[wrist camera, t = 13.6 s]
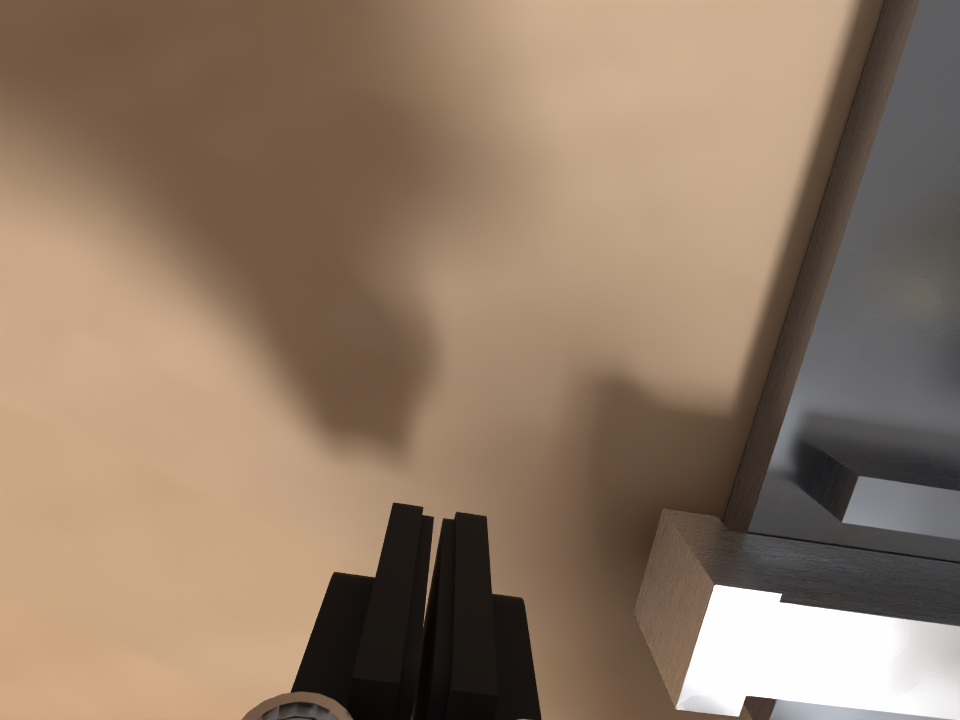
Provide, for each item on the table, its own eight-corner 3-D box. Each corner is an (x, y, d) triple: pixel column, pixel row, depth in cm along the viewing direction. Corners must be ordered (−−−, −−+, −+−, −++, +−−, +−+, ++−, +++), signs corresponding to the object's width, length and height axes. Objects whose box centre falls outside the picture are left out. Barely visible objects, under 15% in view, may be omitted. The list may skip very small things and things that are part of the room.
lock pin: (634, 613, 13) (675, 709, 11) (663, 508, 13) (714, 585, 10) (1002, 659, 14) (1122, 760, 11) (1047, 563, 13) (1185, 648, 11)
